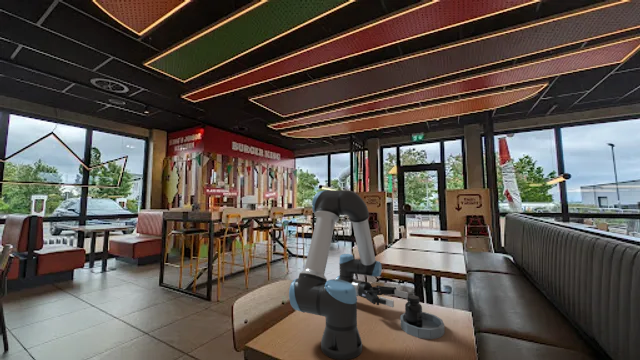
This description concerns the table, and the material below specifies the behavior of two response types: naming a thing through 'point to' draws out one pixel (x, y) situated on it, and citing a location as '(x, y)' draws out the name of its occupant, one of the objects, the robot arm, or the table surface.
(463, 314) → the table surface
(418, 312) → the supplement bottle
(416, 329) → the bowl
